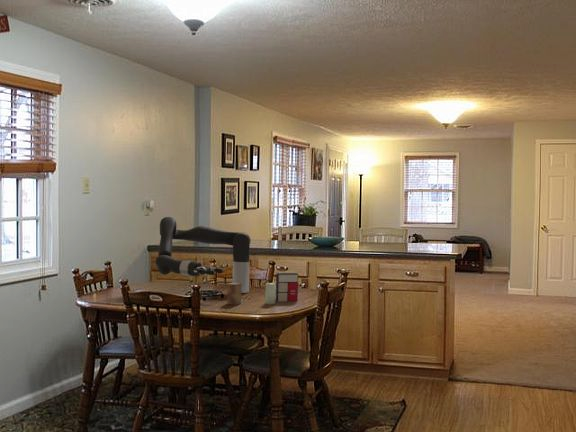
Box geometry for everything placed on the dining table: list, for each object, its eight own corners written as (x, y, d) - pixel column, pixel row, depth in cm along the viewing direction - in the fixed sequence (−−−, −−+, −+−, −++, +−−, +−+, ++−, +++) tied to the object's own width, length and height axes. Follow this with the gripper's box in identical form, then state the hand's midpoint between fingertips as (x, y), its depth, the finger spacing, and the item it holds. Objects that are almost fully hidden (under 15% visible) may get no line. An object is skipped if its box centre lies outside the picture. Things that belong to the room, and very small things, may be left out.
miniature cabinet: (277, 303, 338) (278, 274, 337) (275, 301, 342) (276, 272, 341) (297, 302, 340) (298, 273, 340) (295, 301, 345) (296, 272, 344)
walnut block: (227, 303, 326) (227, 283, 326) (232, 302, 331) (232, 282, 330) (235, 304, 324) (236, 284, 323) (240, 303, 328) (241, 283, 328)
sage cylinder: (264, 302, 333) (265, 282, 332) (274, 302, 333) (275, 283, 333) (265, 304, 328) (265, 284, 327) (275, 304, 328) (275, 284, 328)
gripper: (197, 274, 344) (224, 278, 338) (182, 277, 331) (210, 281, 325) (198, 260, 344) (225, 263, 338) (183, 262, 331) (211, 265, 324)
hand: (218, 272), depth 331 cm, fingers open, 8 cm apart
